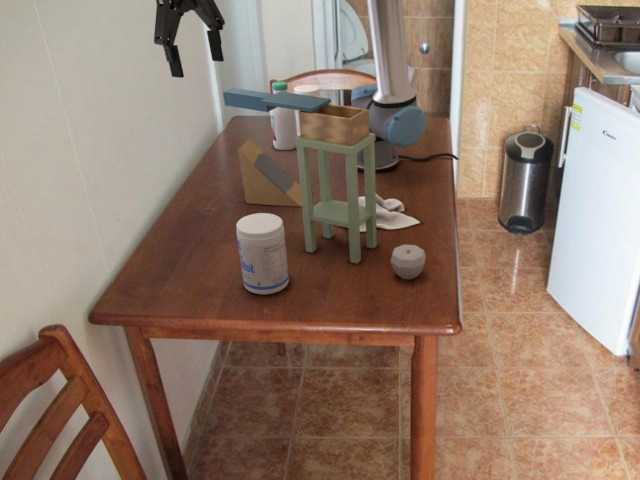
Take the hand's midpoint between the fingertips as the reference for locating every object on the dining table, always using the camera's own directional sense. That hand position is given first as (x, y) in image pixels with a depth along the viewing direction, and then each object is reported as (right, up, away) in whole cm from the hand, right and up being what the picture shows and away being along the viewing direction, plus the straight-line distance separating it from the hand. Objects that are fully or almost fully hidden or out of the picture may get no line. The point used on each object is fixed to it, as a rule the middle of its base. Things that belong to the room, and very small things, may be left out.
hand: (198, 68), depth 147 cm
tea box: (+31, -17, -7) cm, 36 cm away
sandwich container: (+12, -24, +31) cm, 41 cm away
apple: (+46, -46, -3) cm, 66 cm away
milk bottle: (+8, -3, +65) cm, 65 cm away
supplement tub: (+16, -48, -6) cm, 51 cm away
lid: (+18, -10, -3) cm, 21 cm away
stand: (+31, -39, +8) cm, 51 cm away
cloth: (+39, -30, +22) cm, 54 cm away
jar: (+15, +4, +76) cm, 77 cm away
